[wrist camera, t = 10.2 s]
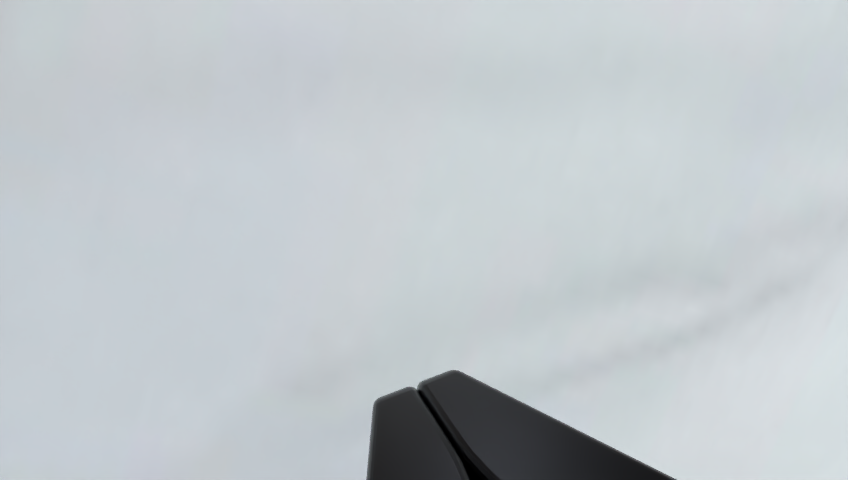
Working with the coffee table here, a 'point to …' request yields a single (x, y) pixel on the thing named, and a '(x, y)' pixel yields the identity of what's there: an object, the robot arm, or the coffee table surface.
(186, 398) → the coffee table surface
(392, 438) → the robot arm
